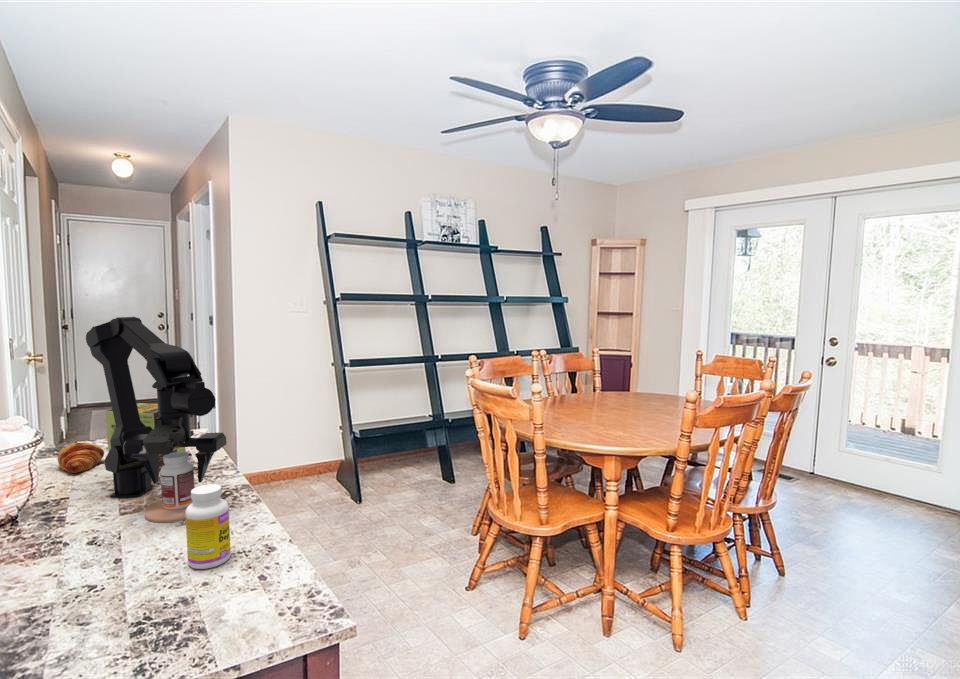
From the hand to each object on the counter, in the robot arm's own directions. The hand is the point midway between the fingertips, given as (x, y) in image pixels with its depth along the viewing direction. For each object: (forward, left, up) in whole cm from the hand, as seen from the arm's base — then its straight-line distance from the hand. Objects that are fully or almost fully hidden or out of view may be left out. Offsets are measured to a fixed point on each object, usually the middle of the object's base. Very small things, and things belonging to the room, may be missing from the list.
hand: (178, 482), depth 115 cm
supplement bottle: (+16, -23, -6) cm, 29 cm away
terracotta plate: (0, 0, -6) cm, 6 cm away
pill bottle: (0, 0, -5) cm, 5 cm away
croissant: (-41, +33, -6) cm, 53 cm away
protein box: (-24, +33, -6) cm, 41 cm away
